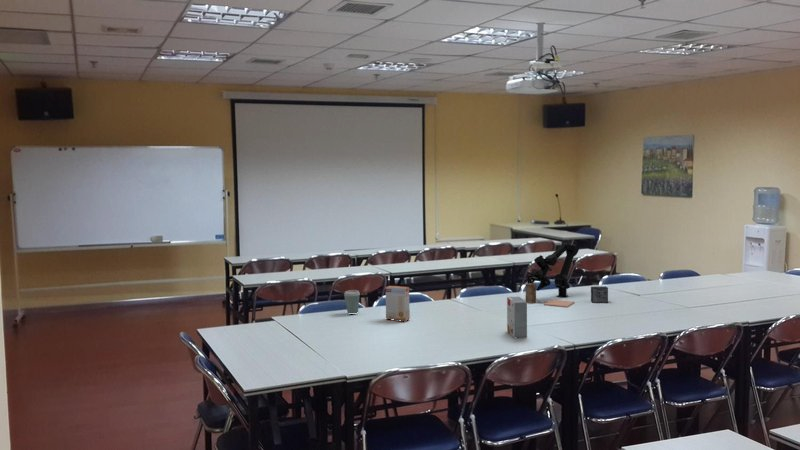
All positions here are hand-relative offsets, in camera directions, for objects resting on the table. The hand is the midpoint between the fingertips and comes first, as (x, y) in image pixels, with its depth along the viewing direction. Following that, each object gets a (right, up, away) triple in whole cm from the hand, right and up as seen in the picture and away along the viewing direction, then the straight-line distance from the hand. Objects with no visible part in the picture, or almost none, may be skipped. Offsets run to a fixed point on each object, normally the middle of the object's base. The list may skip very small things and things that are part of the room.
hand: (532, 289), depth 446 cm
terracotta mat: (+17, -9, -7) cm, 21 cm away
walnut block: (-1, -9, 0) cm, 9 cm away
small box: (+46, -9, -2) cm, 46 cm away
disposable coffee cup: (-122, -14, -26) cm, 125 cm away
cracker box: (-92, -15, -45) cm, 104 cm away
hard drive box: (-26, -17, -84) cm, 89 cm away
